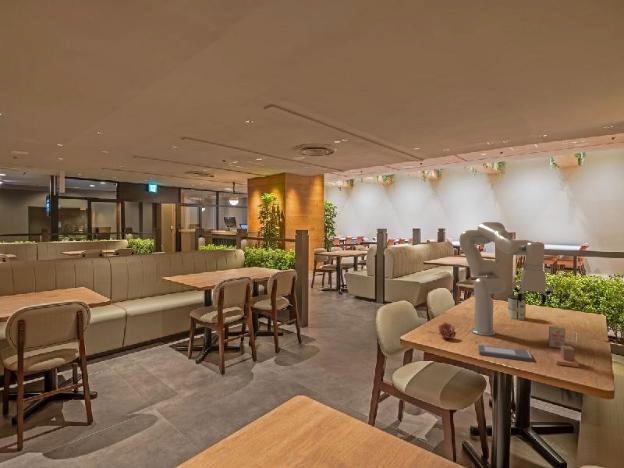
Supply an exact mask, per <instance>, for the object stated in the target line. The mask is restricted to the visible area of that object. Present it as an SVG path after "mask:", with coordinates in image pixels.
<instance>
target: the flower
mask: <svg viewBox="0 0 624 468" xmlns="http://www.w3.org/2000/svg"><path fill="white" fill-rule="evenodd" d="M455 329H456V328H455V325H452V324H451V323H449V322H446V321H445V322H442V323H441V324H438V331H439V332H438V334H439V335H440V336H441V337H442V340H444V339H449V340H453V338H455V337H456V335H457V333H456V331H455Z"/></svg>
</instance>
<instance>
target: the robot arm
mask: <svg viewBox="0 0 624 468" xmlns="http://www.w3.org/2000/svg"><path fill="white" fill-rule="evenodd" d="M458 240H459V246H460V249H461V250H462V252H463V254H464V257H465V258H466V259H465V260H466V262H467V264H468V268H469V270H470V273H471V274H472V275H473V276H475V277H478V278H476V279H475V280H474V281H473V291H474V292H473V293H474V325H473V326H474V327H472V328H471V330H470V331H471V332H472V333H473V334H476V335H478V336H479V335H480V336H486V337H487V336H488V337H490V336H491V337H492V336H495V335H496V334H497V331H496V330H494V300H493V298H492V296H491V295H495V294H496V295H497V294H502V293H504V292H505V290H506V281H505V279H504V276H503V274H502V271H501V269H500V266H499V265H498V263H497V262H496V261H495V260H492V259H484V258H483V255H482V254H481V251H480V250H479V248H478V247H476V246H475V245H487V244H489V243H492V242H493V244H494V246H495V247H496V249H498V250H499V251H500V252H502V253H504V254H507V255H509V256H524V258H525V259H524V264H520V266H521V267H520V268H523V269H522V271H521V276H520V280H519V281H516V282H512V283H511V286H512V287H513V289H514V291H515V292H516V293H517V295H518V297H517V299H518V300H519V302H521V300H522V296H523V294H522V293H523V292H530V293H531V292H534V293H541V304H542V305H546V302H547V297H548V296H549V295H551V294H552V292H553V290H554V287H553V286H552V285H549V284H548V283H546V282H547V281H546V271H545V270H544V258H545V244H544V243H543V242H540V241H533V240H529V239H511V238H509V233H508V231H507V230H506V227H505V226H504V225H503V224H502V223H501V222H499V221H498V222H497V221H494V222H493V221H486V222H481V223H480V224H479V225H478V226H477V229H468V230H465V231H463V232H461V233H460V235H459V239H458ZM517 286H519V287H520V288H518V287H517ZM546 288H548V289H547V290H546Z"/></svg>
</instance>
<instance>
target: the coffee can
mask: <svg viewBox="0 0 624 468" xmlns="http://www.w3.org/2000/svg"><path fill="white" fill-rule="evenodd" d="M517 297H518V294H516V295H514V294H511V295H507V318H508V319H511V320H517V321H525V320H526V305H527V303H526V301H527V300H526V299H527V297H526V296H523V295H522V300H521V302H519V300H518V299H517Z"/></svg>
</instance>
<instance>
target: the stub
mask: <svg viewBox="0 0 624 468" xmlns="http://www.w3.org/2000/svg"><path fill="white" fill-rule="evenodd" d="M551 358H552V360H553V361H554V362H555V364H556V365H558V366H559V365H560V366H566V367H567V366H568V367H575V368H579V366H580V365H579V362H578V361H577V360H576V359H575V349H574V348H573V347H572V346H569V345H565V346H562V345H561V348H560V354H559V353H553V352H552V353H551Z"/></svg>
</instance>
